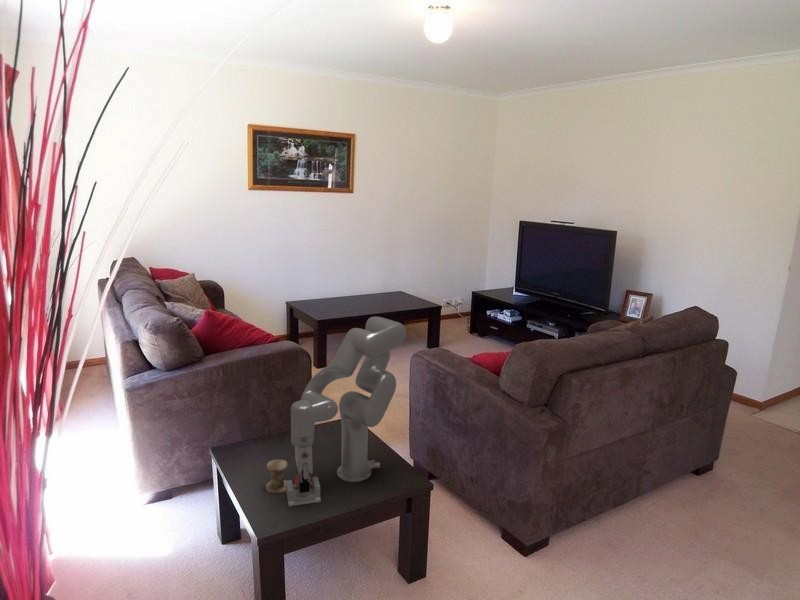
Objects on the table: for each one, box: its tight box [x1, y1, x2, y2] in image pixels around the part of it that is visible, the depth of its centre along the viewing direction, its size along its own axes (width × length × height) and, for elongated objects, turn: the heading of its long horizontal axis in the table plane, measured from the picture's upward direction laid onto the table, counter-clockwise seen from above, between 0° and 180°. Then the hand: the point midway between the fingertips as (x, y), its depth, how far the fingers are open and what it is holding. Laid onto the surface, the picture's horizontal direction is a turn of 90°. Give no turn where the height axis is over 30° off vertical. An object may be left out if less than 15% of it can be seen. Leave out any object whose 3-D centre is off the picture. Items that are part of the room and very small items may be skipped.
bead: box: [294, 474, 312, 488], centre depth 183 cm, size 6×6×6 cm
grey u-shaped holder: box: [285, 476, 322, 507], centre depth 184 cm, size 11×9×5 cm
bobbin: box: [265, 458, 288, 495], centre depth 189 cm, size 8×8×9 cm
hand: (303, 486), depth 184 cm, fingers closed on bead, 5 cm apart
